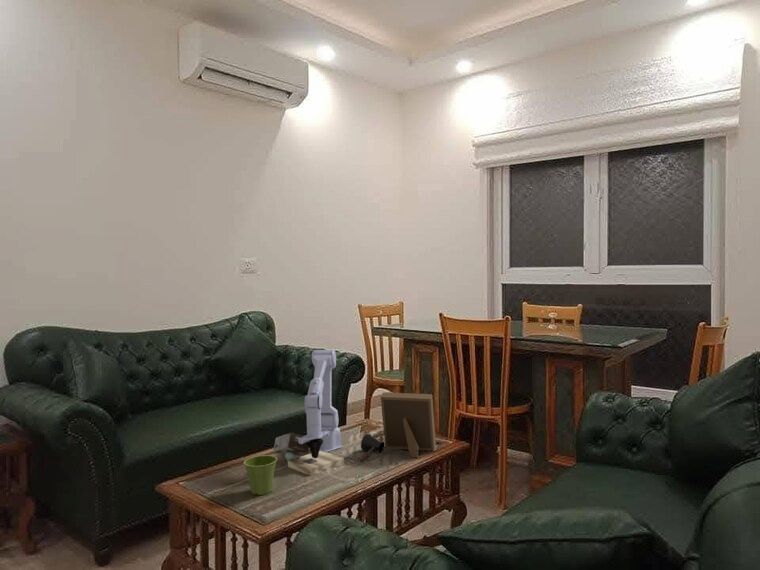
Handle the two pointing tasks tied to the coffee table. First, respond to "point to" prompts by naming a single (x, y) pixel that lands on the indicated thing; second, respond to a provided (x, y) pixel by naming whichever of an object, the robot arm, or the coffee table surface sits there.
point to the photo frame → (408, 421)
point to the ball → (310, 461)
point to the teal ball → (289, 455)
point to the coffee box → (290, 445)
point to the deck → (316, 463)
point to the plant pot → (261, 473)
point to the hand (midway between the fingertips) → (314, 457)
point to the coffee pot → (370, 446)
